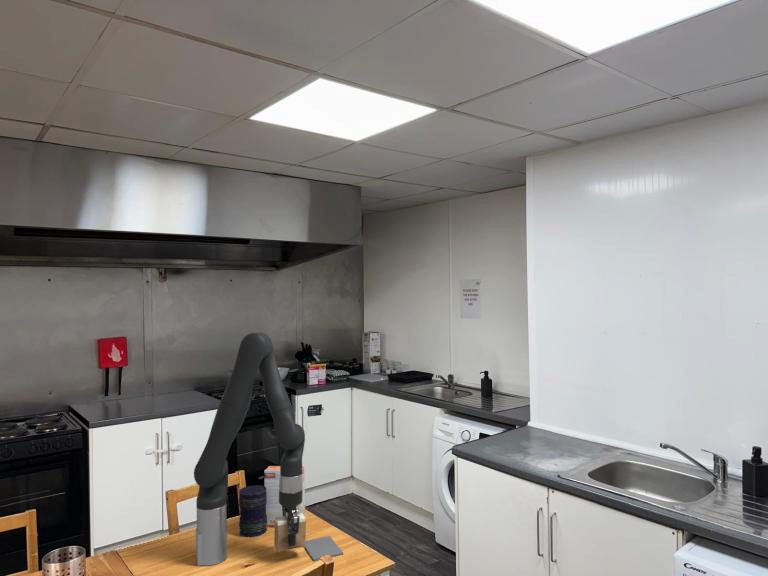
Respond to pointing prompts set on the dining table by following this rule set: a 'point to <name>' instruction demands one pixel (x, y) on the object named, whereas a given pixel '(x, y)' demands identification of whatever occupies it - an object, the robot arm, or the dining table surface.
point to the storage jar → (253, 511)
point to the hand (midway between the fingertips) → (289, 541)
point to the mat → (322, 548)
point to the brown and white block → (282, 533)
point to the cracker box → (277, 494)
